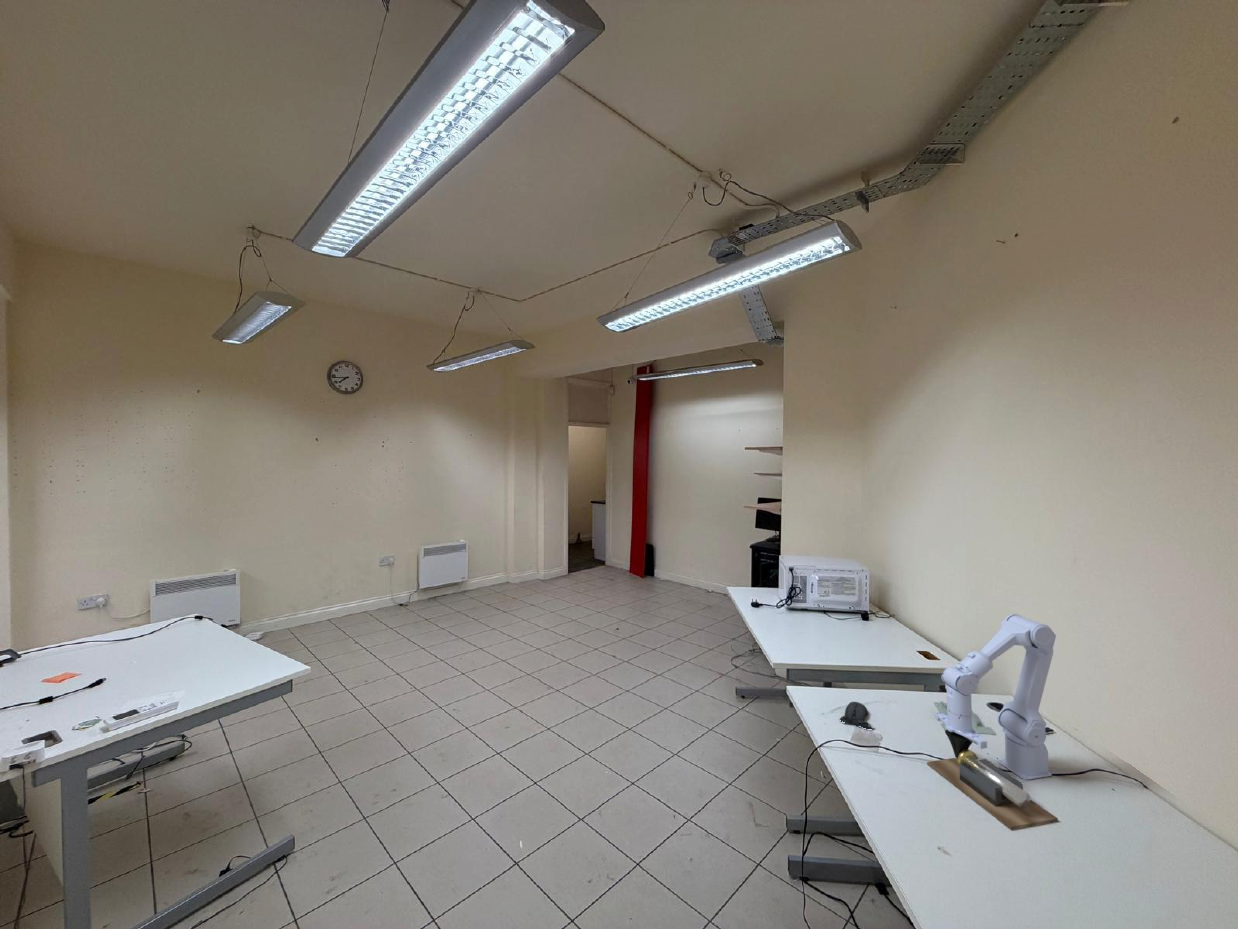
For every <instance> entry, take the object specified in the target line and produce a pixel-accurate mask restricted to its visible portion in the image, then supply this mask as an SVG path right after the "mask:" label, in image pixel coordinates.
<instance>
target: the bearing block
mask: <svg viewBox="0 0 1238 929" xmlns="http://www.w3.org/2000/svg"><path fill="white" fill-rule="evenodd" d="M978 760H979V761H981V762H982V763H984V764H985V765H987V766H988V767H990V768H991V769H993V770H994V771H995V772H997V773H998V774H1000V775H1001V776H1003V777H1004V778H1006V779H1007V780H1009V781H1010V782H1012V783H1013V784H1015V785H1016V786H1018V787H1019V788H1021V789H1022V790H1023V791H1024V784H1023V783H1022V782H1020V781H1019V780H1018V779H1016V778H1015V777H1013V776H1012V775H1010V774H1008V773H1007V772H1006V771H1004V770H1003V769H1001V768H999V766H997V765H995V764H994V763H993V762H991V761H989V760H987V759H986V758H984V759H983V758H982V759H978ZM959 766H960V780H961V781H962V782H964V783H965V784H966V785H968V786H969V787H970V788H972V789H973V790H974V791H976V792H977V793H978V794H980V795H981V796H982V797H983V798H985V799H986V800H987V801H989V802H990V803H991V804H993V805H994V806H995V807H996V806H1002V805H1008V804H1013V802H1012V801H1011V800H1009V799H1008V798H1006V797H1005V796H1004V795H1002V787H1000V786H999V785H997V784H996V783H995V782H993V781H992V780H990V779H989V778H988V777H986V776H985V775H983V774H982V773H980V772H979V771H978V770H976V769H975V768H973V767H972V766H971V765H969V764H968V763H966V762H962V763H959Z"/></svg>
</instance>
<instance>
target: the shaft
mask: <svg viewBox="0 0 1238 929" xmlns="http://www.w3.org/2000/svg"><path fill="white" fill-rule="evenodd" d="M979 760H980V759H979V757H978V754H976V753H975V752H973V751H972V750H971V749H968V750H963V751H962V752H961V753H960V754H959V756H958V758H957V764H958V766H959V763H962V762H966V763H968V764H969V765H971V766H972V767H973V768H975V769H976V770H978V771H979V772H980V773H982V774H983V775H985V776H986V777H988V778H989V779H990V780H992V781H993V782H995V783H996V784H997V785H999V786H1000V787H1002V795H1004V796H1005V797H1006V798H1008V799H1009V800H1011V801H1012V802H1013V803H1015V804H1016V805H1017V806H1019V807H1020V808H1026V807H1027V806H1028V805H1029V804H1030V800H1031V795H1030V794H1029V793H1028V792H1026V791H1025V790H1024V789H1023V790H1022V789H1021V788H1019V787H1018V786H1016V785H1015V784H1013V783H1012V782H1010V781H1009V780H1007V779H1006V778H1004V777H1003V776H1001V775H1000V774H998V773H997V772H995V771H994V770H993V769H991V768H990V767H988V766H987V765H985V764H984V763H982V762H981V761H979ZM959 768H960V766H959Z"/></svg>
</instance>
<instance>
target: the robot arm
mask: <svg viewBox="0 0 1238 929" xmlns="http://www.w3.org/2000/svg"><path fill="white" fill-rule="evenodd" d="M1056 637H1057V634H1056V633H1055V632H1054V631H1053V630H1052V628H1051V627H1050V626H1049V625H1048V624H1047V625H1046V624H1044V623H1040V622H1037V621H1035V620H1032V619H1029V618H1026V617H1025V616H1022V615H1020V614H1018V613H1012V614H1009V615H1007V616H1006V617H1005V618H1004V620H1002V621H1001V622H1000V629H999V631H998V632H997V633H996V634H995V635H994V636H993V637H992V638H991V639H990V641H988V642H987V643H986V645H985V646H983V648H982V649H981V650H972V651H971V652H968V653H967V655H966V656H965V657H964V658H963V659H961V660H960V661H959V663H957V664H956V665H954V666H949V667H947V668H945V669H944V670H943V673H942V674H941V676H940V678H941V680H942V682H943V683H944V685H945V690H946V703H947V716H946V715H944V714H942V713H941V712H939V711H938V712H934V720H936V721H938V722H941V723H942V724H945V725H946V726H945V728H946V729H947V730H944V734H946V737H947V738H948V740H949V742H950V744H951V747H952V751H953V753H954V758H958V756H959V754H960V753H961V752H962V751H963V750H969V748H970V746H972V744H973V743H974V744H976V745H977V747H978V748H979V749H981V750H982V749H987V747H988V741H987V740H986V739H984V738H983V737H982V736H980V735H981V734H977V733H976V732H975V731H974V730H973V729H972V711H973V710H972V709H973V708H972V695H973V694H974V693H975V692H976V691H977V689H978V685H979V684H980V680H981V679H982V678H983V677H984V676H985V675H987V674H988V673H989V672H990V671H991V670H992V669H993V668H994V664H993V663H994V662H993V661H994V660H996V659H997V658H998V657H1000V656H1001V655H1003V654H1004V653H1005V652H1007V651H1008V650H1010V649H1011V648H1013V647H1014V646H1020V647H1021V646H1022V647H1023V648H1024V649H1025V654H1024V659H1023V662H1022V666H1021V669H1020V670H1021V671H1020V674H1019V677H1018V681H1017V685H1016V690H1015V693H1014V696H1013V700H1012V701H1007V702H1004V703H1003V707H1002V708H1001V710H1000V711H999V712H998V714H997V722H998V724H999V725H1000V726H1001V728H1002V732H1003V733H1004V748H1005V749H1004V752H1005V753H1004V755H1005V756H1004V758H1002V759H997V760H996V761H997V763H998V764H1000V765H1001V766H1003V767H1005V768H1006V769H1008V770H1009V771H1011V772H1012V773H1014V774H1015V775H1017V776H1018V777H1020V778H1021V779H1023V780H1025V781H1028V780H1033V779H1039V778H1040V779H1041V778H1044V777H1045V778H1046V777H1047V778H1048V777H1052V776H1053V774H1052V773H1051V772H1049V750H1048V749H1047V746H1046V744H1045V742H1046V739H1047V732H1046V726H1047V723H1046V721H1045V720H1044V718H1043V716H1042V715H1041V713H1040V711H1039V709H1040V705H1041V701H1042V698H1043V693H1044V692H1045V691H1044V690H1045V686H1046V682H1047V680H1048V679H1047V678H1048V675H1049V671H1050V667H1051V663H1052V660H1053V656H1054V645H1055V641H1056V639H1057V638H1056Z"/></svg>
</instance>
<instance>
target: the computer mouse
mask: <svg viewBox="0 0 1238 929" xmlns="http://www.w3.org/2000/svg"><path fill="white" fill-rule="evenodd" d="M868 711H869V710H868V708H867V707H866V706H865V705H864V704H863V703H861V702H859V701H851V702H849V703H848V704H847V705H846V708H845V711H844V715H842V716H841V717H840V718H839V720H841V722H842V720H843V721H845V724H844V725H851V724H853V725H852V726H854V725H856V726H855V727H858V726H861V727H863V728H866V729H872V730H873V724H872V723H870V722H867V721H865V719H866V718H867V716H868V714H869V713H868ZM841 722H840V723H841Z"/></svg>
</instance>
